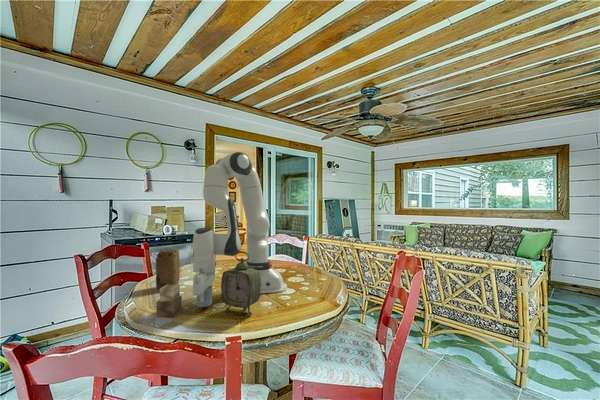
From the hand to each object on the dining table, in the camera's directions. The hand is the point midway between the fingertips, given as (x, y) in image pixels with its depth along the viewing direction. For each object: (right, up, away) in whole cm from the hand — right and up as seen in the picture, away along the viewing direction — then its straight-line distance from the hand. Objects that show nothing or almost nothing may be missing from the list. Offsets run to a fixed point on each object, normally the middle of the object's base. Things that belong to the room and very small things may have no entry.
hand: (204, 298), depth 120 cm
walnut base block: (-12, -4, -6) cm, 14 cm away
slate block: (0, -2, 0) cm, 2 cm away
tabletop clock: (+17, -4, -4) cm, 18 cm away
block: (-29, -4, +27) cm, 40 cm away
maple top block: (-12, +2, -6) cm, 14 cm away
